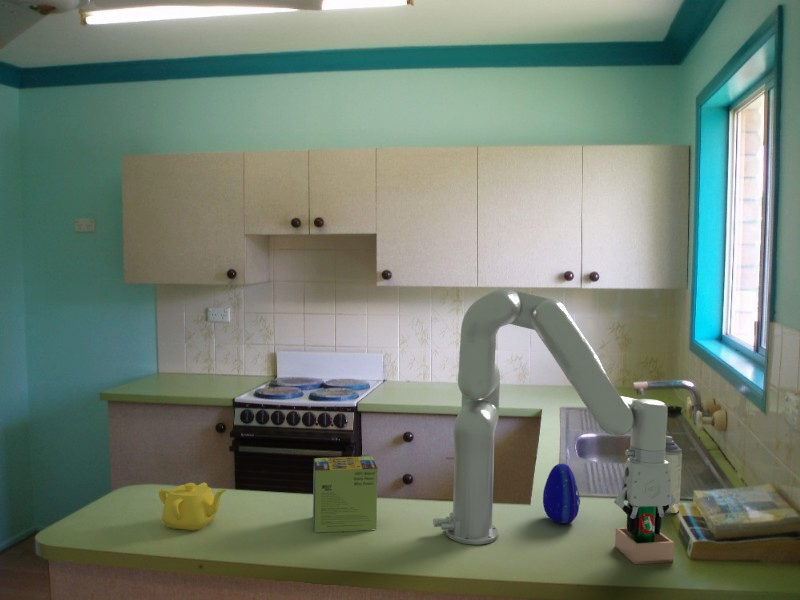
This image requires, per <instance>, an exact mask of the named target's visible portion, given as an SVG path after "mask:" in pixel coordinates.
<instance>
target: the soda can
mask: <svg viewBox="0 0 800 600" xmlns="http://www.w3.org/2000/svg"><path fill="white" fill-rule="evenodd" d="M636 518H637V519H638V529H637V535H636V536H634V535H632V534H631V539H632V540H634V541H635V542H636V543H652V542H655V524H656V507H653V506H650V507H639V508H638V511H637V514H636Z"/></svg>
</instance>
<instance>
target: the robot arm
mask: <svg viewBox="0 0 800 600" xmlns="http://www.w3.org/2000/svg"><path fill="white" fill-rule="evenodd" d="M507 325H512V326H515V327H516V326H517V327H520V328H524V329H528V330H533V331H535V332H536V334H537V336H538V337H539V338H540V340H541V342H542V343H543V344H544V346H545V347H546V348H547V350H548V351H549V353H550V354H551V356H552V358H554V361H555V362H556V363H557V365H558V366H559V368H560V369H561V371H562V372H563V374H564V375H565V377H566V379H567V380H568V382H569V384H571V386H572V387H573V389H574V390H575V391H576V393H577V394H578V396H579V398H580V400H581V401H582V402H583V404H584V405H585V407H586V409H587V410H588V411H589V414H590V415H591V416H592V417H593V419H594V421H595V422H596V424H597V425H598V427H599V428H600V429H601V430H602V431H603V432H605V433H606V434H607V435H609V436H612V437H622V436H625V435H626V434H628V433H629V432H630V444H629V449H625V450H624V453H625V457H627V456H628V457H629V458H626V462H625V466H624V470H623V477H622V483H621V491H620V492H619V494H618V495H617V496H616V498H615V499H614V500H613V502H614V504H615V505H616V506H618V507H619V508H620V509H621V510H622V511H623V512H624V513H625V514H626V528H627V530H628V531H629V532H630V533H631V534H632V535H634V536H636V535H637V529H638V519H637V518H636V514H637V511H638V508H639V507H650V506H653V507H656V524H655V534H660V532H661V529H662V518H663V517H664V516H665V514H664V513H665V512H666V511H667V510H668V508H669V506H671V505H672V504H674V503H675V501H676V500H675V498H674V497H673V496H672V494H671V476H670V469H669V464H668V461H666V460H665V448H666V436H667V428H668V427H667V426H668V405H667V404H666V403H665V402H663V401H661V400H657V399H652V398H651V399H650V398H639V399H638V398H632V397H628V396H627V397H626V396H622V395H620V394H619V392H618V390H617V389H616V387H615V386H614V384H613V383H612V382H611V380H610V378H609V376H608V374H607V373H606V371H605V370H604V367H603V366H602V363H601V361H600V358H599V356H598V355H597V353H596V351H595V350H594V348H593V347H592V345H590V343H589V341H588V340H587V338H586V337H585V336H584V334H583V333H582V331H581V330H580V329H579V327H578V325H577V324H576V322H575V321H574V319H573V318H572V316H571V315H570V314H569V312H568V310H567V308H566V306H565V305H564V304H563V303H562V302H560V301H559V300H557V299H554V298H548V297H543V296H540V295H536V294H532V293H531V294H530V293H527V292H522V291H519V290H516V289H515V290H514V289H510V288H500V289H499V288H498V289H496V290H493V291H490V292H489V293H487V294H485V295H483V296H482V297H480V298H478V299H477V300H475V301H474V302H473V303H471V305H470V306H469V307H468V309H467V310H466V312H465V314H464V316H463V318H462V323H461V327H460V338H459V339H460V340H459V341H460V342H459V343H460V344H459V355H458V374H457V385H458V388H459V391H460V393H461V407H460V408H461V409H460V410H459V412H458V413H457V416H456V417H455V419H454V423H453V433H452V434H453V436H452V437H453V491H452V492H453V499H452V500H453V501H452V503H453V504H452V512H449V516H445V518H440V517H438V518H432V520H433V521H432V525H433V527H434V528H440V530H442V531H444V530H445V532H446V536H447V537H448V538H449V539H451V540H453V541H454V542H458V543H461V544H466V545H485V544H486V545H487V544H490V543H494V541H497V539H498V538H499V529H498V528H497V527H496V526H494V525H493V507H494V505H493V504H494V503H493V502H494V501H493V500H494V475H495V474H494V472H495V471H494V468H495V467H494V466H495V458H494V457H495V432H496V428H497V425H498V422H499V412H500V411H499V410H500V390H501V389H500V385H501V378H500V377H501V375H500V368H499V367H498V365H497V363H496V350H497V349H496V348H497V340H496V339H497V333H498V331H499V329H501V328H503V327H505V326H507ZM624 502H626V503H627V504H625V503H624Z"/></svg>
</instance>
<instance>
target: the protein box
mask: <svg viewBox="0 0 800 600" xmlns="http://www.w3.org/2000/svg"><path fill="white" fill-rule="evenodd" d="M312 473H313V474H312V475H313V476H312V477H313V482H312V484H313V485H312V487H313V490H312V491H313V493H312V495H313V497H312V498H313V499H312V501H313V502H312V522H313V532H314V533H317V534H319V533H339V532H343V531H344V532H359V531H358V530H367V531H373V530H372V529H376V530H377V522H378V521H377V516H378V515H377V512H378V511H377V510H378V509H377V507H378V506H377V504H378V467H377V464H376V462H375V460H374V457H373V456H342V457H339V456H338V457H317V458H313V471H312ZM344 532H343V533H344Z"/></svg>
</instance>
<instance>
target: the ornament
mask: <svg viewBox="0 0 800 600" xmlns="http://www.w3.org/2000/svg"><path fill="white" fill-rule="evenodd" d="M542 496H543V497H542V504H543V509H544V512H545V514H546V516H547V517H548V519H550V520H551V521H552V522H554V523H558V524H570V523H573V522H574V520H575V519H576V518H577V517H578V516H577V515H578V513H579V509H580V505H581V497H580V493H579V489H578V485H577V481H576V477H575V475H574V472H573V470H572V469H571V467H570V466H569V465H568V464H566V463H558V464H556V465H554V466H553V467H552V468H551V470H550V472H549V474H548V476H547V478H546V482H545V484H544V487H543V493H542Z"/></svg>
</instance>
